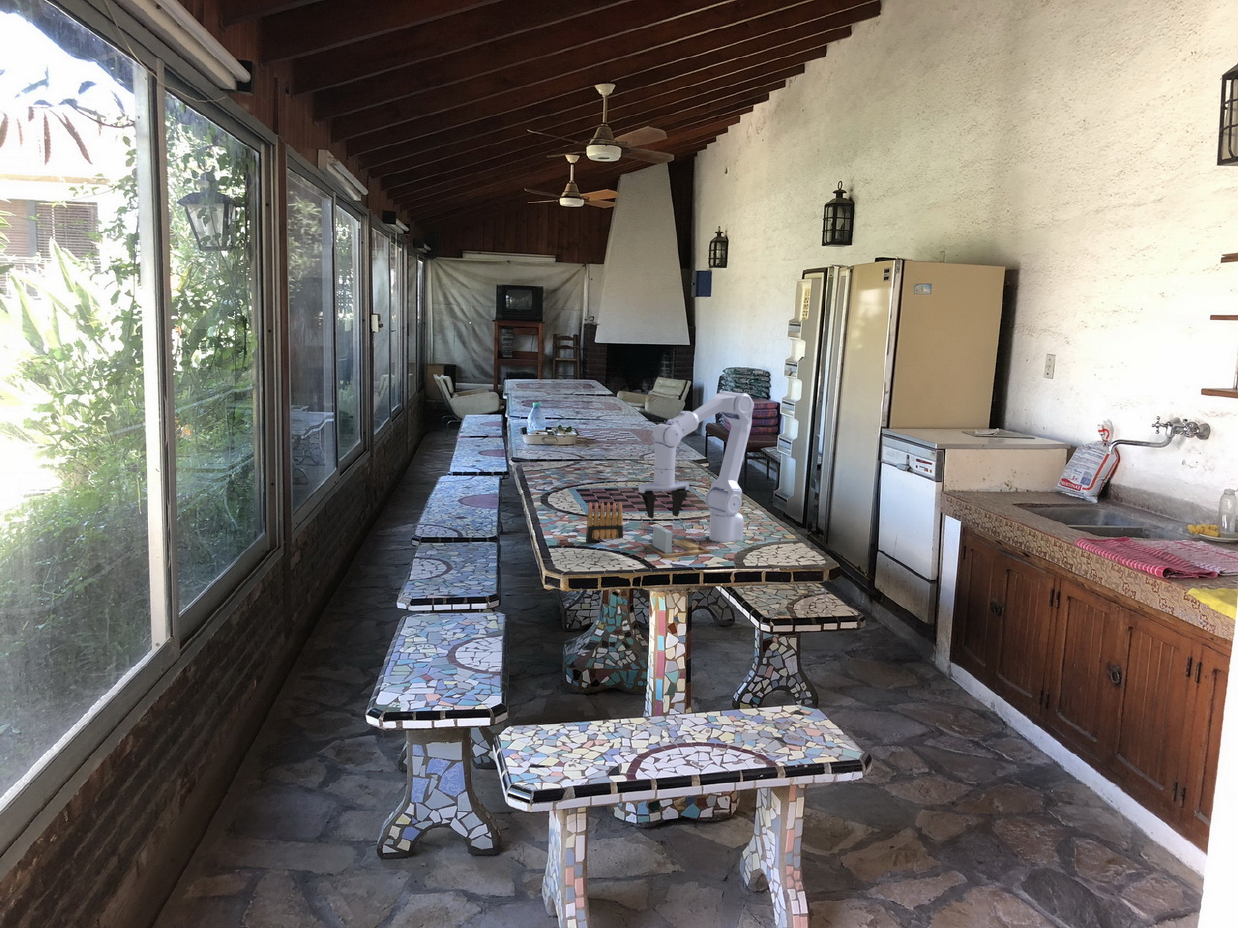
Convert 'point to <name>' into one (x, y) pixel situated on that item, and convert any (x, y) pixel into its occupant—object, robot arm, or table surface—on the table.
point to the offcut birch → (691, 550)
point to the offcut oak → (686, 545)
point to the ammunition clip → (604, 523)
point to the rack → (676, 554)
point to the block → (662, 539)
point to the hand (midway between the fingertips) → (662, 516)
